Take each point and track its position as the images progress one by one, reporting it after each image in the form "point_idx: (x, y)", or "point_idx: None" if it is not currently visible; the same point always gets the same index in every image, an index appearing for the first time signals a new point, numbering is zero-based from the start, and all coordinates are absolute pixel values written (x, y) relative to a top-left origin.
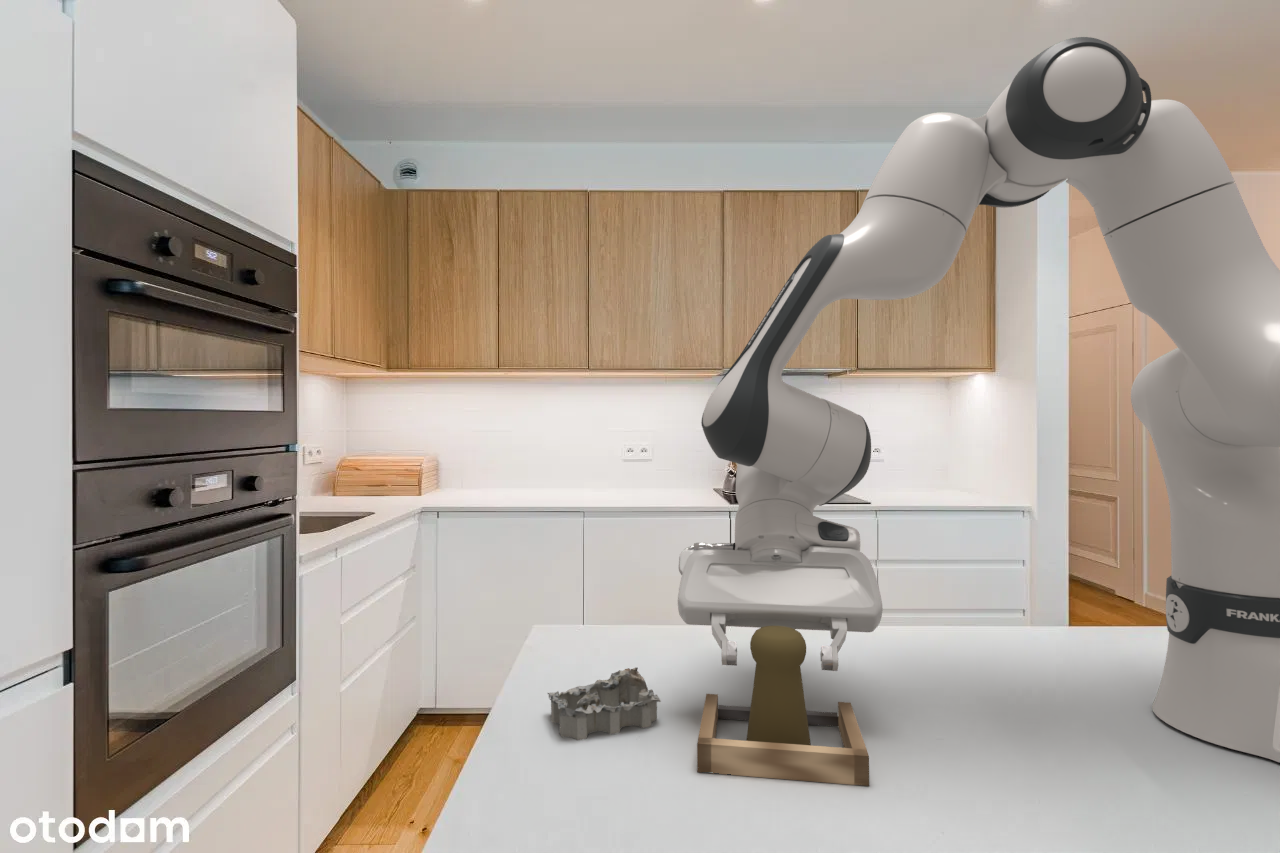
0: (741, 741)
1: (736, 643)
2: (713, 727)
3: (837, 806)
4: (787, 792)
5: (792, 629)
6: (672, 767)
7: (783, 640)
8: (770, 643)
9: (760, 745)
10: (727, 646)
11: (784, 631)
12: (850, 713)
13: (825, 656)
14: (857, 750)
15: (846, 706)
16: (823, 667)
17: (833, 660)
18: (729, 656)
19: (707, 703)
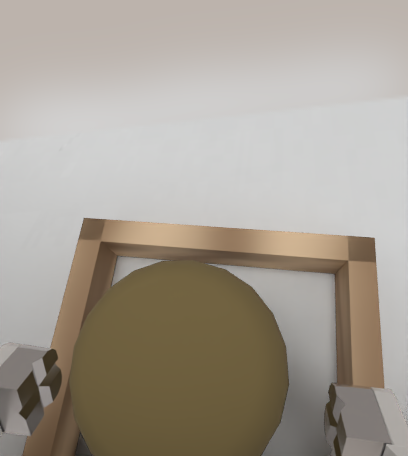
0: (290, 250)
1: (346, 429)
2: (349, 313)
3: (160, 185)
4: (219, 210)
5: (99, 376)
6: (403, 267)
7: (166, 267)
8: (216, 270)
9: (255, 239)
10: (381, 420)
11: (145, 322)
12: None
13: (32, 356)
14: (94, 234)
15: (37, 442)
16: (55, 367)
17: (17, 346)
18: (360, 386)
19: None
